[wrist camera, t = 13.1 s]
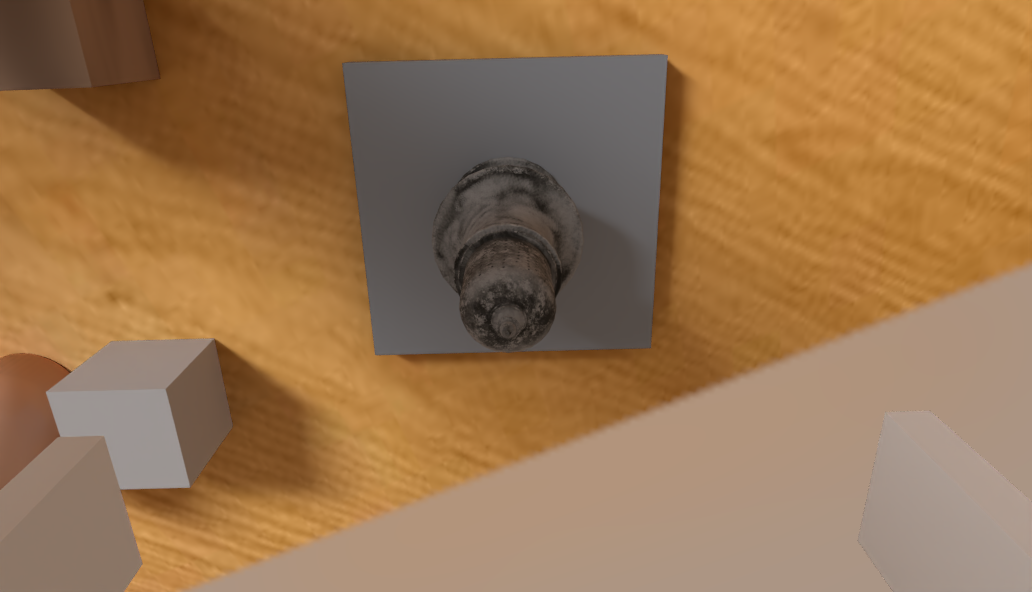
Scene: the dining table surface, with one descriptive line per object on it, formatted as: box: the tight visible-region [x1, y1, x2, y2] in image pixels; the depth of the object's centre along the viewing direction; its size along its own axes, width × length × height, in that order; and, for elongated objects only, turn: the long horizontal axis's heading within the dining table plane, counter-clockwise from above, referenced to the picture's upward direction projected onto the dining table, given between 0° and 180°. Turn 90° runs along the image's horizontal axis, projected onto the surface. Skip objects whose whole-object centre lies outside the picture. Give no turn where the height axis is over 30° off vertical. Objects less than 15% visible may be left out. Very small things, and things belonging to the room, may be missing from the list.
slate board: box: [342, 54, 668, 355], centre depth 29 cm, size 13×13×1 cm
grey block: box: [46, 338, 233, 489], centre depth 31 cm, size 5×5×5 cm
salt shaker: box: [432, 157, 584, 353], centre depth 23 cm, size 6×6×12 cm
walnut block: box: [0, 0, 160, 91], centre depth 25 cm, size 5×5×5 cm
